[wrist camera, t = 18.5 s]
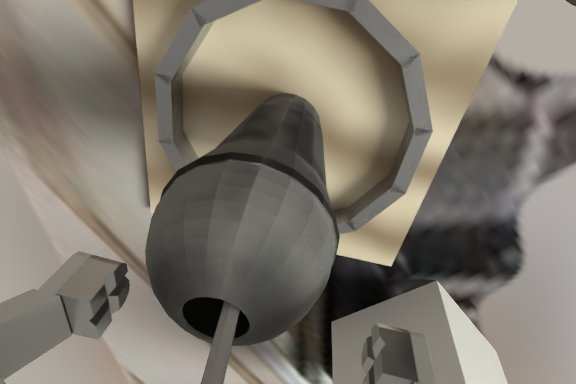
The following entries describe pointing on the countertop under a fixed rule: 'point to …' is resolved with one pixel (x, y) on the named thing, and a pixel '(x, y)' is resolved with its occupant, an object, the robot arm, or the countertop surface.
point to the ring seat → (320, 91)
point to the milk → (426, 320)
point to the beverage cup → (246, 232)
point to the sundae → (572, 2)
